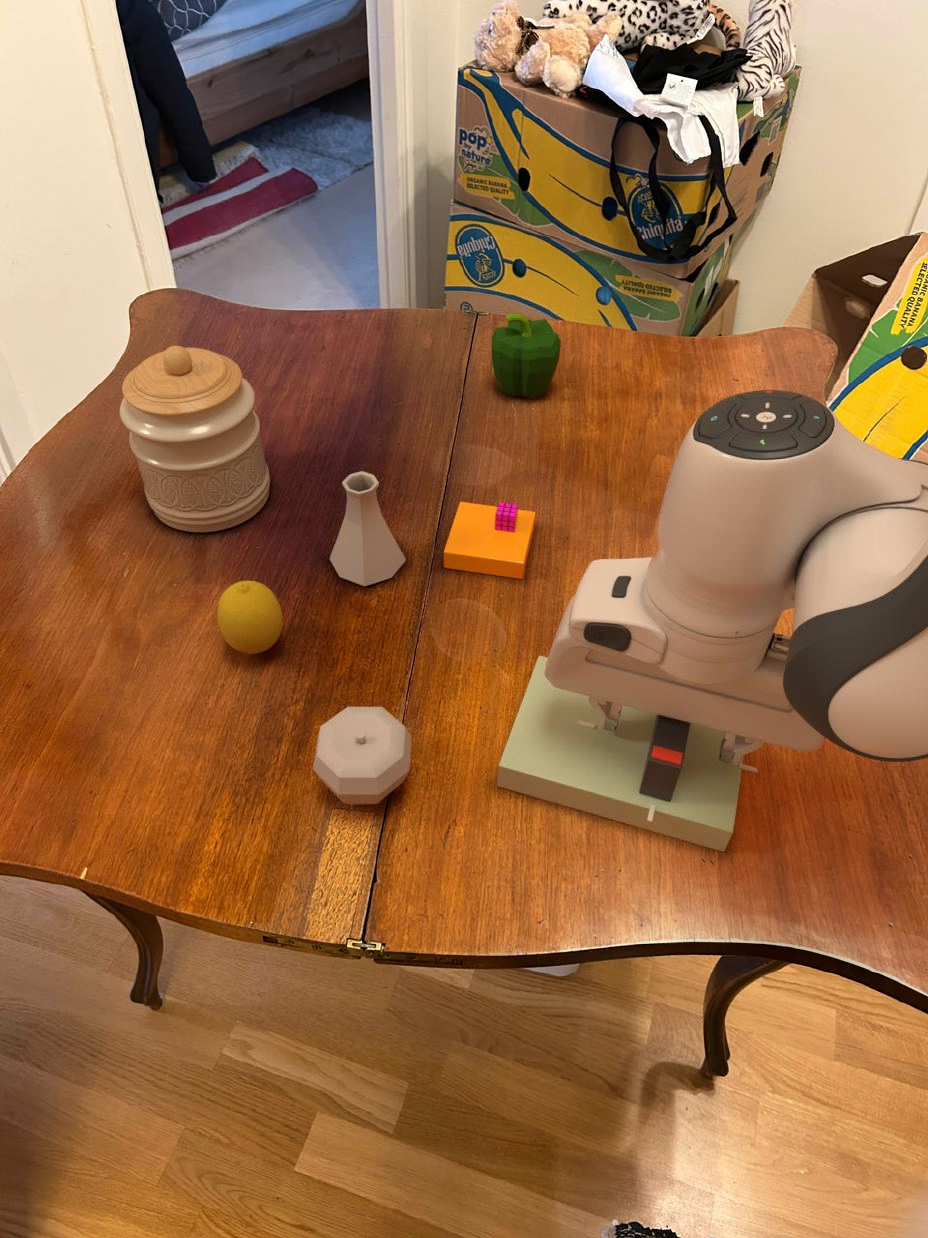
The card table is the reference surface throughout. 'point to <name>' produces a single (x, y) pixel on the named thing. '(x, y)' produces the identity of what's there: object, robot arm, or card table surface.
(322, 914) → the card table surface
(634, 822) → the green slab
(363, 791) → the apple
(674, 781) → the bar
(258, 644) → the lemon
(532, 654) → the card table surface
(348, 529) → the flask
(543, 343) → the bell pepper
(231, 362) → the jar
